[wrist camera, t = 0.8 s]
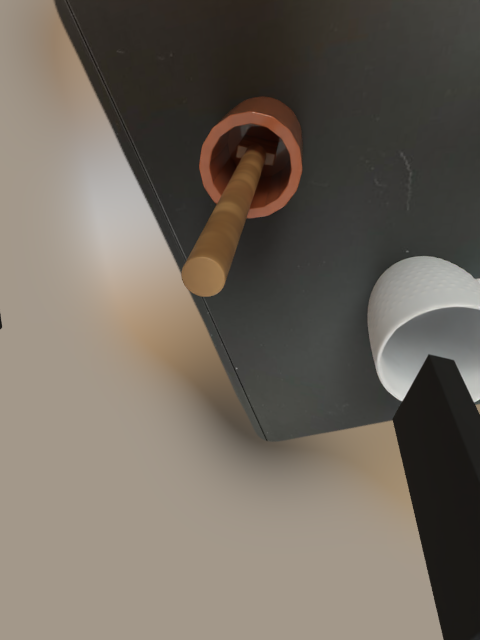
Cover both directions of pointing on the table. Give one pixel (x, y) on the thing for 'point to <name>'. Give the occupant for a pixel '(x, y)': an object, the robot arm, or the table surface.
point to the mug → (424, 322)
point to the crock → (275, 181)
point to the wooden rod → (227, 220)
